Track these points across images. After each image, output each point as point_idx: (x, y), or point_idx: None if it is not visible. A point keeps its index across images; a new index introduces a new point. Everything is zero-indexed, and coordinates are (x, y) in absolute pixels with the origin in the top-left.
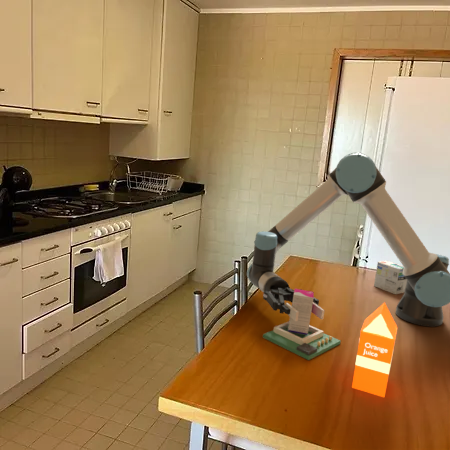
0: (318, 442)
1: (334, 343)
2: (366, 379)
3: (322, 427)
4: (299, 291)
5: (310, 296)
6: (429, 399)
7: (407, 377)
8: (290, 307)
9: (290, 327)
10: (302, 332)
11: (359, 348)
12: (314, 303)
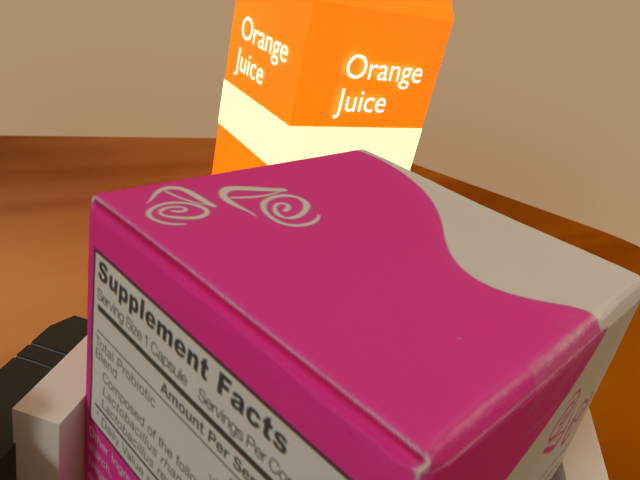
0: (626, 242)
1: None
2: None
3: (594, 251)
4: (433, 294)
5: (368, 166)
6: (198, 153)
7: (114, 186)
8: (599, 455)
9: None
10: None
11: (427, 95)
12: (82, 356)
